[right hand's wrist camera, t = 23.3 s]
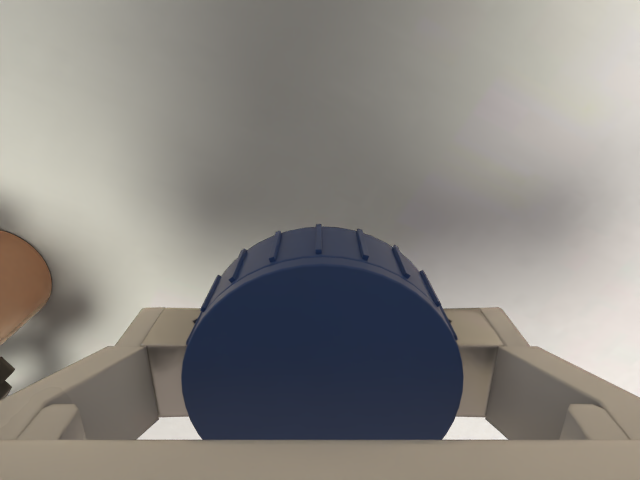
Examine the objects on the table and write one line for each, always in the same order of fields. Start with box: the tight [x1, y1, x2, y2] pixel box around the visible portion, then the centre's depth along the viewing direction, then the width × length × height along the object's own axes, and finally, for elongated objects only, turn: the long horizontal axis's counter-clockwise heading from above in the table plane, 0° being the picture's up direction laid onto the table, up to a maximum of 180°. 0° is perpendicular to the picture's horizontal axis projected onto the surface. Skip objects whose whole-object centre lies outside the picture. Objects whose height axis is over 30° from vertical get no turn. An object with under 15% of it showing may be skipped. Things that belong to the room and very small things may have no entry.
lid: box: [181, 224, 464, 440], centre depth 9 cm, size 6×6×2 cm
